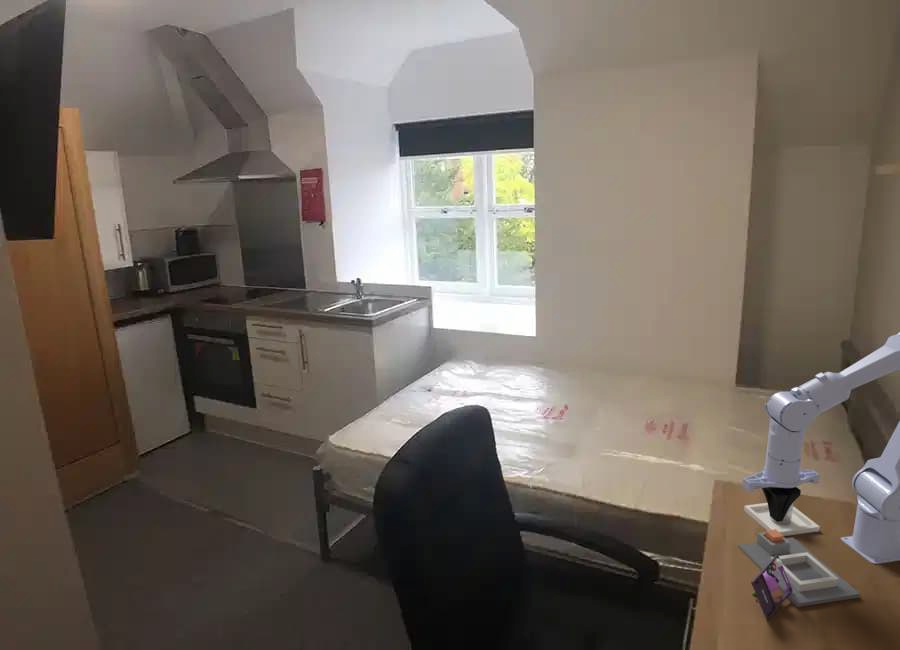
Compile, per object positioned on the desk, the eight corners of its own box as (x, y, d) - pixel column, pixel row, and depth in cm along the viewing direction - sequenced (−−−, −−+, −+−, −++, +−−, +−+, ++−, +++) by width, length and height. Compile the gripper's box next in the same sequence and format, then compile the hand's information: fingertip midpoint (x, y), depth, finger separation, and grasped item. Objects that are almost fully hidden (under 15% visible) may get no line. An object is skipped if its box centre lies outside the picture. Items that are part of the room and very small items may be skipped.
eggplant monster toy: (757, 583, 97) (782, 555, 102) (728, 578, 101) (754, 552, 106) (772, 620, 97) (797, 591, 101) (743, 614, 101) (768, 586, 106)
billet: (782, 513, 125) (785, 488, 124) (795, 524, 122) (798, 498, 120) (765, 515, 125) (768, 491, 123) (778, 526, 121) (781, 501, 119)
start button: (774, 537, 115) (775, 529, 114) (782, 544, 113) (783, 536, 112) (764, 538, 115) (765, 530, 114) (772, 545, 112) (773, 537, 112)
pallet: (792, 540, 117) (794, 527, 116) (859, 597, 101) (861, 583, 100) (737, 548, 115) (739, 535, 115) (797, 607, 100) (798, 592, 99)
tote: (784, 505, 129) (785, 500, 128) (818, 532, 119) (819, 526, 119) (743, 511, 127) (744, 505, 127) (774, 538, 118) (775, 532, 117)
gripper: (803, 441, 114) (795, 502, 117) (735, 449, 112) (729, 511, 115) (831, 458, 107) (821, 522, 110) (759, 467, 105) (752, 532, 108)
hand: (776, 518), depth 112 cm, fingers closed
